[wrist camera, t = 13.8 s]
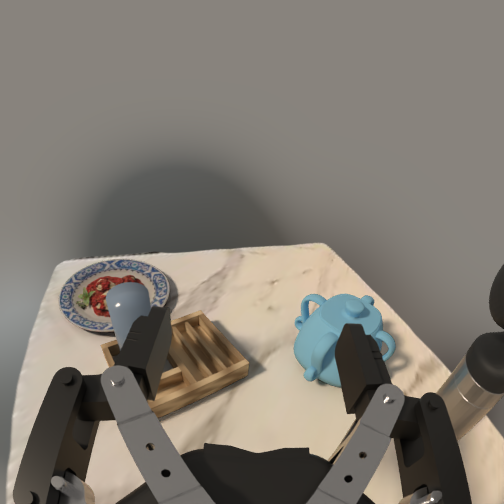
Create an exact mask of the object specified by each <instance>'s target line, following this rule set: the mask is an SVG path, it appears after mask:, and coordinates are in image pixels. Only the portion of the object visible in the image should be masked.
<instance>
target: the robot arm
mask: <svg viewBox="0 0 504 504" xmlns="http://www.w3.org/2000/svg"><path fill="white" fill-rule="evenodd" d="M489 307H490V312H491V315H492V317H493V319H494V321H495V322H496V323H497V324H498V325H499V326H500V327H502V328H503V329H504V265H503V266H502V267H501V269H500V270H499V272H498V273H497V275H496V277H495V279H494V282H493V284H492V287H491V291H490V297H489ZM171 340H172V328H171V318H170V310H169V308H166V307H158V306H152V308H151V310H150V312H149V315H148V316H142V315H141V316H140V317H138V318H137V319H136V320H135V321H134V322H133V324H132V326H131V328H130V330H129V332H128V335H127V337H126V339H125V341H124V344H123V346H122V348H121V350H120V353H119V355H118V357H117V360H116V362H115V364H114V366H112V367H109V368H108V369H106V370H105V371H104V372H103V374H100V375H81V373H80V372H79V371H78V370H77V369H75V368H73V367H65V368H62V369H60V370H59V371H57V372H56V374H55V375H54V377H53V379H52V381H51V384H50V386H49V388H48V391H47V393H46V395H45V398H44V400H43V403H42V405H41V407H40V410H39V413H38V415H37V418H36V420H35V423H34V426H33V428H32V431H31V434H30V437H29V440H28V443H27V445H26V448H25V452H24V455H23V458H22V461H21V464H20V468H19V471H18V475H17V478H16V482H15V486H14V490H13V499H14V502H15V504H95V496H94V492H93V490H92V489H91V488H90V486H89V485H87V484H86V483H85V479H86V474H87V470H88V465H89V461H90V457H91V453H92V448H93V445H94V441H95V437H96V433H97V429H98V426H99V422H100V421H106V420H116V421H117V425H118V428H119V430H120V432H121V435H122V437H123V439H124V441H125V443H126V445H127V447H128V449H129V451H130V453H131V455H132V457H133V459H134V461H135V463H136V465H137V467H138V469H139V470H140V472H141V474H142V476H143V478H144V479H145V481H146V482H145V483H143V484H142V485H141V486H139V487H138V488H137V489H135V490H134V491H133V492H131V493H130V494H128V495H127V496H126V497H124V498H123V499H121V500H120V501H118V502H117V503H116V504H375V503H374V502H373V501H372V500H371V499H369V498H368V497H367V496H366V495H365V494H364V493H363V492H364V490H365V488H366V487H367V485H368V483H369V482H370V480H371V478H372V476H373V475H374V473H375V471H376V469H377V467H378V465H379V463H380V461H381V460H382V458H383V456H384V454H385V452H386V450H387V448H388V446H389V443H390V441H391V438H394V443H395V449H396V454H397V460H398V466H399V472H400V478H401V485H402V492H403V499H402V500H401V501H400V502H399V504H472V502H471V496H470V491H469V487H468V482H467V478H466V473H465V469H464V465H463V461H462V457H461V454H460V450H459V446H458V443H457V441H458V440H459V439H460V438H461V437H463V436H464V435H465V434H466V433H467V432H468V431H469V430H470V429H471V428H473V427H474V426H475V425H476V424H477V423H478V422H479V421H480V420H481V419H482V418H483V417H484V416H485V415H486V414H487V413H488V412H489V411H490V410H491V409H492V408H493V407H494V406H495V405H496V404H497V402H498V401H499V400H500V399H501V398H502V397H503V396H504V332H495V333H494V332H493V333H485V334H482V335H480V336H479V337H478V338H477V339H476V340H475V341H474V343H473V344H472V345H471V347H470V348H469V350H468V351H467V353H466V355H465V356H464V357H463V359H462V360H461V362H460V363H459V364H458V366H457V367H456V369H455V370H454V371H453V372H452V374H451V375H450V376H449V378H448V379H447V380H446V382H445V383H444V384H443V385H442V387H441V388H440V389H439V390H438V391H437V393H432V392H429V393H426V394H424V395H423V396H422V397H421V398H420V399H419V398H414V397H409V396H405V395H404V394H403V392H402V391H401V390H400V389H399V388H398V387H397V386H395V385H392V383H391V380H390V377H389V374H388V371H387V368H386V365H385V363H384V360H383V357H382V354H381V353H380V349H379V346H378V344H377V342H376V341H375V339H374V338H373V337H372V336H371V335H366V334H365V331H364V328H363V326H362V324H354V323H346V324H345V325H344V326H343V329H342V332H341V334H340V337H339V339H338V341H337V344H336V347H335V360H336V365H337V369H338V374H339V378H340V383H341V387H342V392H343V397H344V402H345V407H346V412H347V414H355V415H356V419H355V421H354V422H353V424H352V425H351V427H350V429H349V430H348V432H347V433H346V435H345V437H344V438H343V440H342V441H341V443H340V444H339V446H338V447H337V449H336V450H335V452H334V453H333V454H332V455H331V457H330V458H329V459H328V461H327V460H325V459H324V458H321V457H319V456H316V455H313V454H310V453H309V448H282V449H278V450H273V451H268V452H263V453H254V452H250V451H246V450H243V449H239V448H236V447H233V446H228V445H217V444H208V443H204V449H198V450H193V451H190V452H187V453H185V454H182V455H179V453H178V452H177V450H176V448H175V447H174V445H173V444H172V442H171V440H170V439H169V437H168V435H167V434H166V432H165V430H164V429H163V427H162V425H161V423H160V422H159V420H158V418H157V416H156V415H155V413H154V412H153V411H152V410H151V408H150V407H149V405H148V403H147V400H152V401H155V398H156V394H157V390H158V387H159V383H160V380H161V376H162V373H163V369H164V366H165V362H166V359H167V355H168V352H169V348H170V345H171Z"/></svg>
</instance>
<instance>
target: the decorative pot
mask: <svg viewBox="0 0 504 504" xmlns="http://www.w3.org/2000/svg"><path fill="white" fill-rule="evenodd" d="M309 301H313V302H316V303H317V304H319V305H320V307H319V308H317V309H316V310H315V311H314V312H313V313H312V314H311V315H310V316H309V308H308V305H309ZM373 305H374V299H373V298H372V297H370V296H368V295H365V296H363V297H362V298H361V299H360V298H358V297H355V296H353V295H350V294H340V295H336V296H334V297H332V298H330V299H328V300H326V299H325V298H324V297H322V296H320V295H318V294H310V295H308V296H306V297H305V298H304V299H303V301H302V303H301V315H302V316H299V317H297V318H296V320H295V326H296V328H297V329H298V330H300V331H299V333H298V335H297V338H296V340H295V344H294V354H295V356H296V359H297V360H298V362H299V363H300V364H301V366H302V367H303V368H304V369H305V370H306V371H305V373H304V378H305V379H306V380H307V381H313V380H315V379H316V378H318V379H319V380H321V381H323V382H325V383H327V384H329V385H332V386H336V387H341V383H340V378H339V374H338V369H337V365H336V360H335V347H336V344H337V341H338V339H339V337H340V334H341V332H342V329H343V326H344V325H345V324H346V323H354V324H362V326H363V328H364V331H365V334H366V335H371V336H372V337H373V338H374V339H375V341H376V342H377V344H378V346H379V349H380V351H381V347H382V341H384V342H385V343H386V344H387V346H388V348H389V350H388V352H387V353H386V354H385V355H383V356H382V357H383V360H384V362H385V361H386V360H388V359H389V358H390V357H391V356H392V355H393V353H394V351H395V347H396V345H395V341H394V339H393V338H392V336H391V335H390V334H388V333H387V332H385V331H383V323H382V316H381V313H380V312H379V310H378V309H376V308H375V307H374V306H373ZM301 321H302V322H301Z"/></svg>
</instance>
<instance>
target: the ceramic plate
mask: <svg viewBox="0 0 504 504" xmlns="http://www.w3.org/2000/svg"><path fill="white" fill-rule="evenodd" d="M126 282H135V283H139V284H142V285H144V286H145V287H146V288H147V289H148V291H149V298H150V305H151V308H152V306H158V307H163V306H164V305H165V303H166V302H167V299H168V297H169V292H170V285H169V282H168V279H167V277H166V276H165V275H164V273H163V272H162V271H160V270H159V269H158V268H156V267H155V266H153V265H150V264H148V263H145V262H142V261H137V260H130V259H113V260H107V261H102V262H98V263H94V264H92V265H89V266H87V267H85V268H83V269H81V270H79V271H78V272H76V273H75V274H74V275H72V276H71V277H70V278H69V279H68V280H67V281H66V282H65V284H64V285H63V287H62V289H61V291H60V294H59V307H60V310H61V312H62V314H63V315H64V317H65V318H66V319H67V320H68V321H70V322H71V323H72V324H74V325H76V326H78V327H80V328H83V329H86V330H90V331H97V332H113V331H114V329H113V325H112V322H111V318H110V314H109V310H108V306H107V302H106V295H107V293H108V291H109V290H110V289H111V288H112V287H114V286H116V285H118V284H121V283H126Z"/></svg>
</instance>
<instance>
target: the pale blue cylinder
mask: <svg viewBox="0 0 504 504" xmlns="http://www.w3.org/2000/svg"><path fill="white" fill-rule="evenodd" d="M106 302H107V306H108V310H109V314H110V318H111V322H112V325H113V329H114V332H115V336H116V339H117V343H118V346H119V349H120V350H121V348H122V346H123V344H124V341H125V339H126V337H127V335H128V332H129V330H130V328H131V326H132V324H133V322H134V321H135V320H136V319H137V318H138V317H140V316H141V315H142V316H148V315H149V312H150V310H151V305H150V298H149V291H148V289H147V288H146V287H145V286H144V285H142V284H139V283H135V282H126V283H121V284H118V285H116V286H114V287H112V288H111V289H110V290H109V291H108V293H107V295H106Z"/></svg>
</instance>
